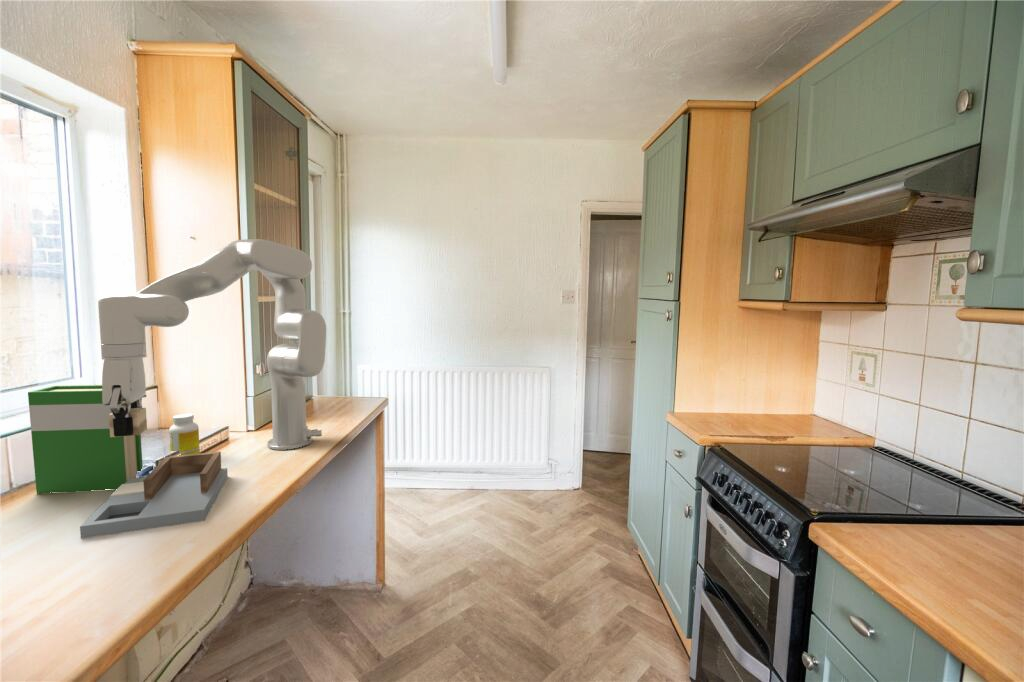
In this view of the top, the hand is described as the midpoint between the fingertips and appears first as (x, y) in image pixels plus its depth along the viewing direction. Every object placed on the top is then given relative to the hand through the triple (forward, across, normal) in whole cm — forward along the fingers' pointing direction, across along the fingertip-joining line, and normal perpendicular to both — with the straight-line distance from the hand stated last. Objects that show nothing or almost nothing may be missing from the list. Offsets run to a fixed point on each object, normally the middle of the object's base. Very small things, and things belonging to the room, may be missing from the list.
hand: (129, 431), depth 100 cm
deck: (+16, +4, +7) cm, 18 cm away
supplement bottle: (+16, -25, +4) cm, 30 cm away
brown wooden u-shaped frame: (+14, 0, +10) cm, 17 cm away
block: (0, 0, 0) cm, 0 cm away
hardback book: (+16, -13, -12) cm, 24 cm away
